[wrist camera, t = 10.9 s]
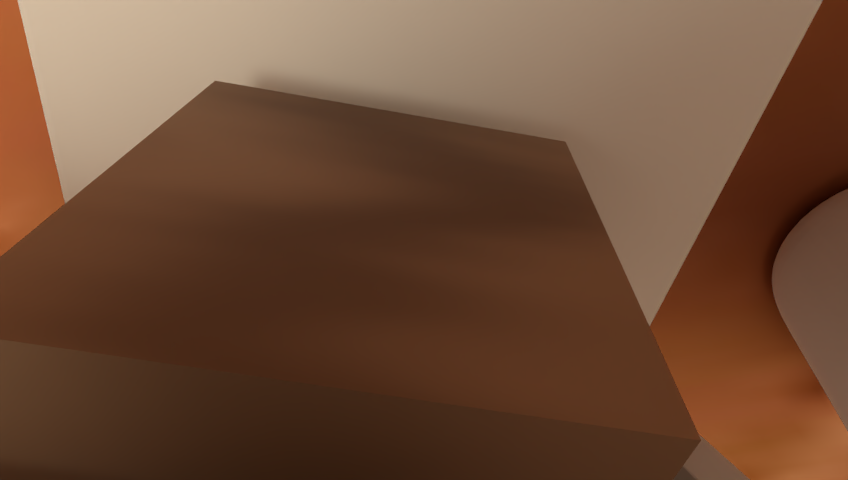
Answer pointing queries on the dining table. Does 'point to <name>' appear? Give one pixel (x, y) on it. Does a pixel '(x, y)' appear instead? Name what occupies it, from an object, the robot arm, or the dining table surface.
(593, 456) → the walnut block
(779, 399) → the dining table surface
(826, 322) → the cup
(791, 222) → the dining table surface
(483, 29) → the plinth
